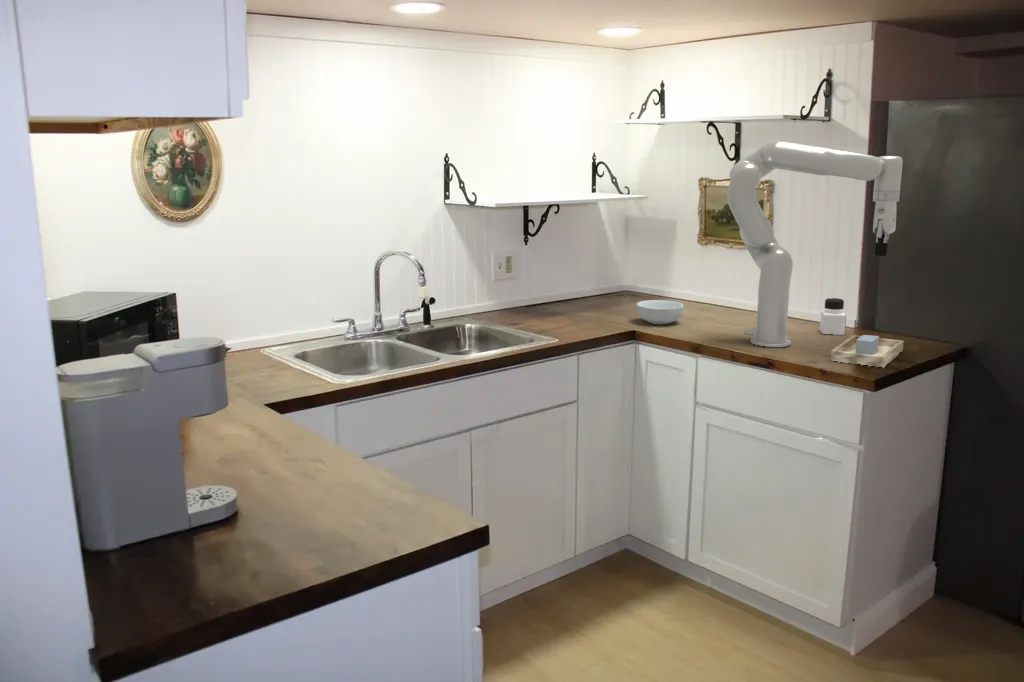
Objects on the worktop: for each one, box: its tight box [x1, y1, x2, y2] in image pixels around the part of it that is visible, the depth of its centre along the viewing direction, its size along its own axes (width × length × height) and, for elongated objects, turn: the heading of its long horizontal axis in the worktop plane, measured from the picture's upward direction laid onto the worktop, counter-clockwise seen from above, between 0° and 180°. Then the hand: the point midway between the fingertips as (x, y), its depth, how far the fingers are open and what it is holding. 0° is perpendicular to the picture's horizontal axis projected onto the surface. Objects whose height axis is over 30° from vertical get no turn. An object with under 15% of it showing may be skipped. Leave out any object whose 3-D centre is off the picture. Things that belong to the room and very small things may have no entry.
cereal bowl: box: [636, 299, 684, 325], centre depth 307 cm, size 17×17×7 cm
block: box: [855, 334, 880, 355], centre depth 255 cm, size 4×4×9 cm
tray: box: [829, 334, 904, 369], centre depth 256 cm, size 15×26×3 cm, turn 145°
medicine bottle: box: [819, 297, 847, 336], centre depth 288 cm, size 7×7×12 cm
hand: (880, 255), depth 264 cm, fingers closed
